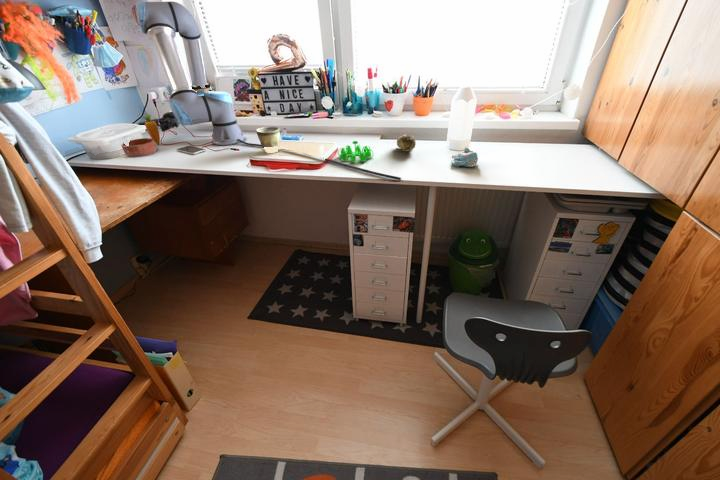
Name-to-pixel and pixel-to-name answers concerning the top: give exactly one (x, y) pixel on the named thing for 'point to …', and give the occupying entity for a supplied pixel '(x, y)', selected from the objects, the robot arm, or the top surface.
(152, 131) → the carrot
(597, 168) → the top surface
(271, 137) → the ceramic cup
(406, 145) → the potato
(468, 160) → the stuffed animal
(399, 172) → the top surface
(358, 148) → the chandelier
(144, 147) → the bowl
